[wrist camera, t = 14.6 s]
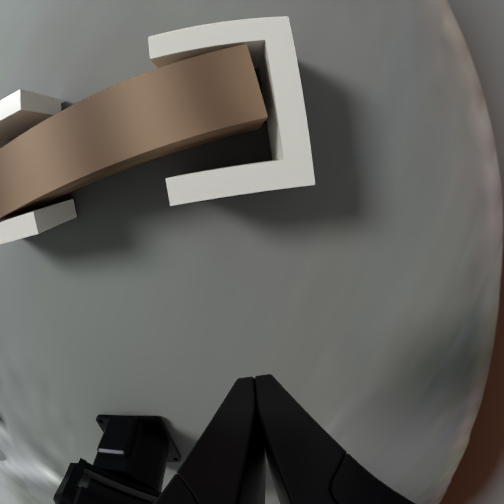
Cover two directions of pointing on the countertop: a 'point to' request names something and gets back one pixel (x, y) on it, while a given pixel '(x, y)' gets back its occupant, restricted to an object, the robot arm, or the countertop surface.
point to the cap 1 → (3, 129)
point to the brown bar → (132, 127)
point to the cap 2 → (275, 100)
